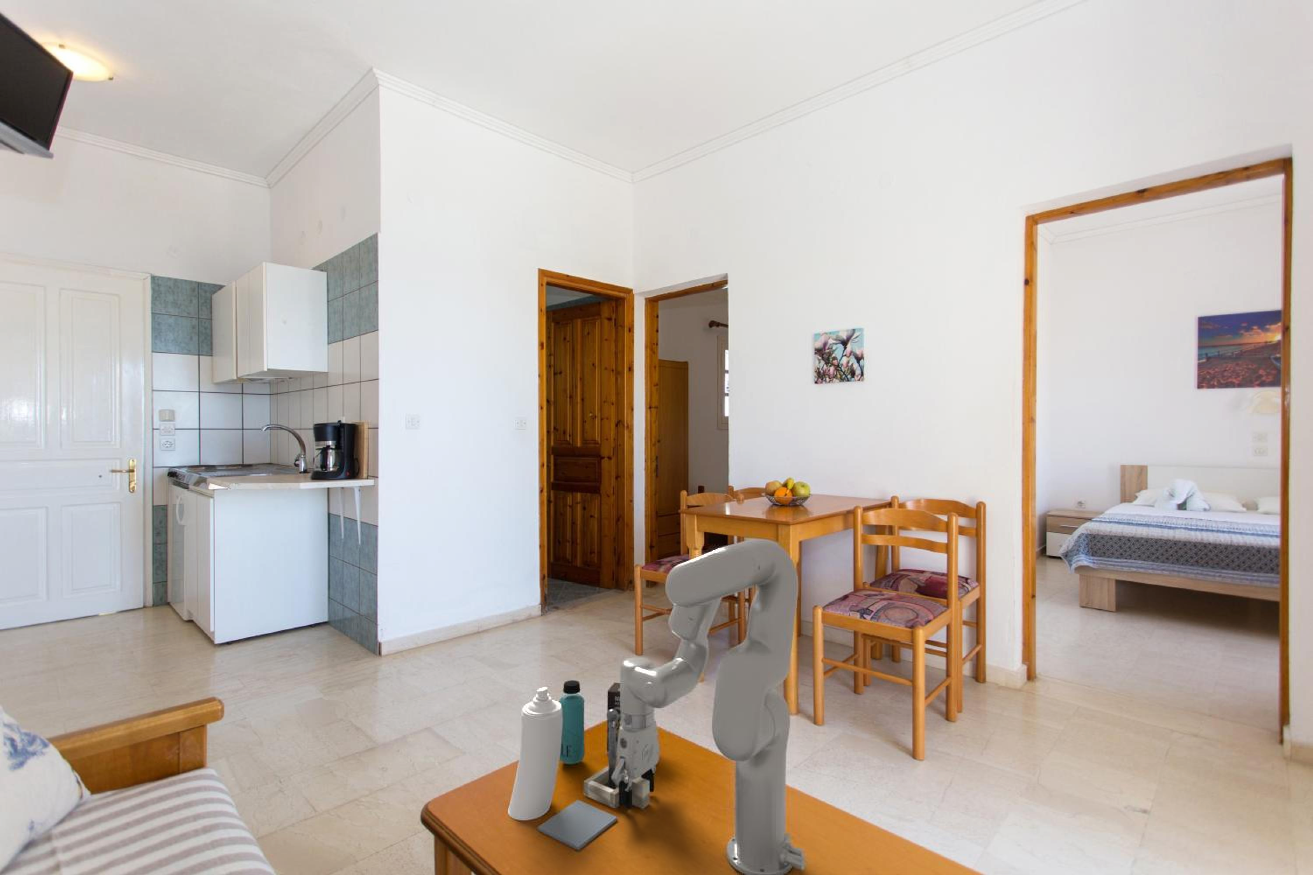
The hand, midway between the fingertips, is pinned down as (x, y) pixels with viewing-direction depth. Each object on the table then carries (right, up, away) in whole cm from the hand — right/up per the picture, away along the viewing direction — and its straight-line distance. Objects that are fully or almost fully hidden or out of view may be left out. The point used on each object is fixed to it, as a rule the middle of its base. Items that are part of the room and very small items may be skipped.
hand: (636, 797), depth 139 cm
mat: (-12, -1, -8) cm, 14 cm away
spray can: (-22, -1, -1) cm, 22 cm away
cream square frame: (-4, -1, +3) cm, 5 cm away
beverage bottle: (-16, -1, +17) cm, 23 cm away
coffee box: (-3, -1, +23) cm, 23 cm away
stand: (-6, -1, +4) cm, 7 cm away
